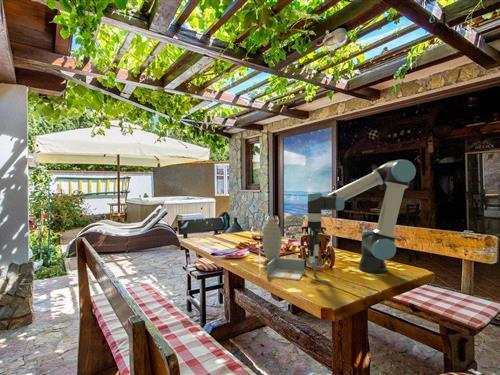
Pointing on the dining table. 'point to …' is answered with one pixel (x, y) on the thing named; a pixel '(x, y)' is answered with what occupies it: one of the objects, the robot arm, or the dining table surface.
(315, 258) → the mechanical component
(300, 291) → the dining table surface
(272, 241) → the vase
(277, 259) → the tray
